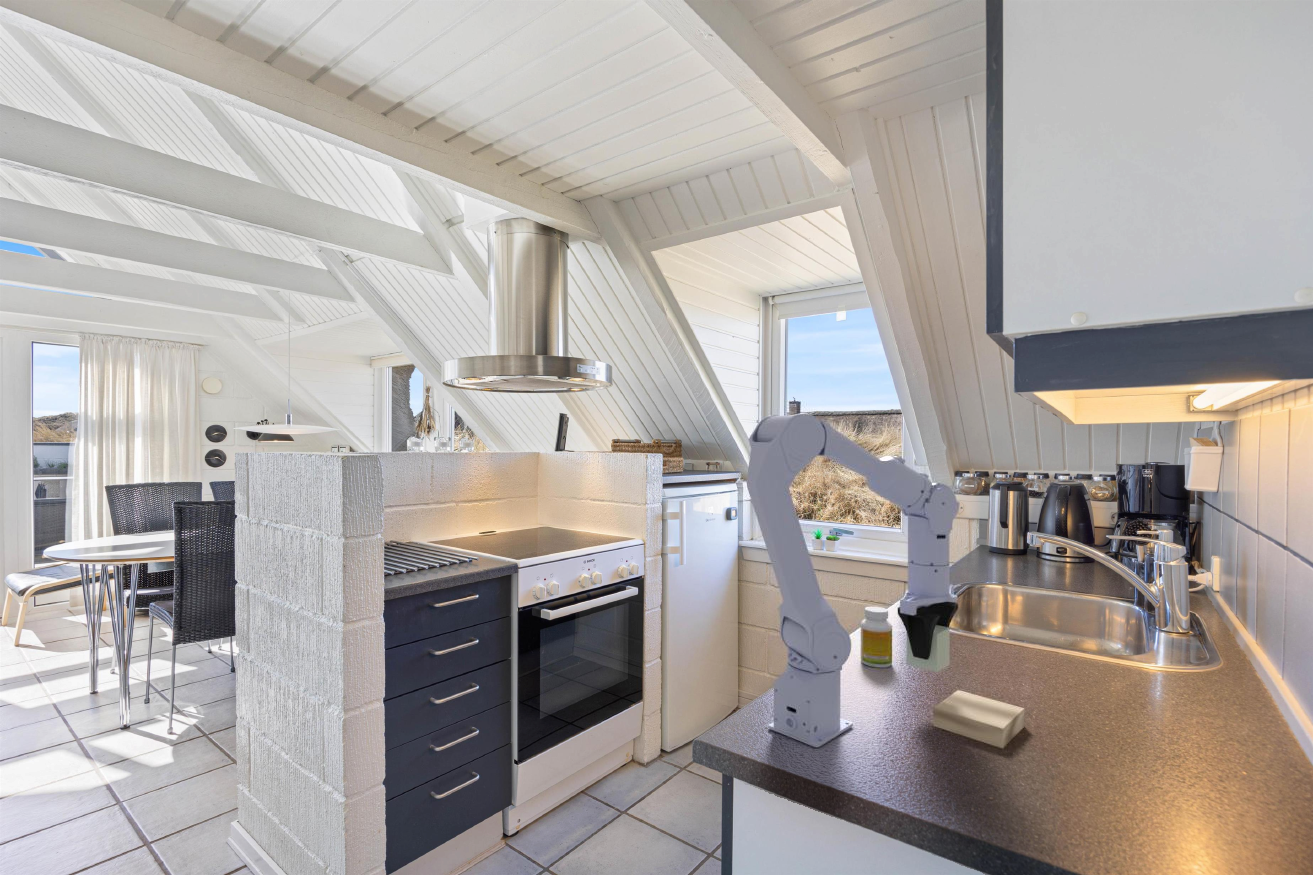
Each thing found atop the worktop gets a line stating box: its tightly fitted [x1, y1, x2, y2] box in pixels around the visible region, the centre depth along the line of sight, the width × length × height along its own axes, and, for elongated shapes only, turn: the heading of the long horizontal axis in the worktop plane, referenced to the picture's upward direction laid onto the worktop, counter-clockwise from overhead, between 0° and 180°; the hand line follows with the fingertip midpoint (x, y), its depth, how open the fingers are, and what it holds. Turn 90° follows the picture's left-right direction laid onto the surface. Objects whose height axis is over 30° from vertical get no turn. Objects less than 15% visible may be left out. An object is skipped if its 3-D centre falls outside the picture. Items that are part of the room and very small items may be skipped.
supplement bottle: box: [860, 606, 893, 669], centre depth 115 cm, size 5×5×10 cm
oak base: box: [932, 689, 1025, 749], centre depth 90 cm, size 9×9×3 cm
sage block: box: [906, 625, 951, 673], centre depth 95 cm, size 4×4×6 cm
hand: (928, 653), depth 95 cm, fingers closed on sage block, 4 cm apart
